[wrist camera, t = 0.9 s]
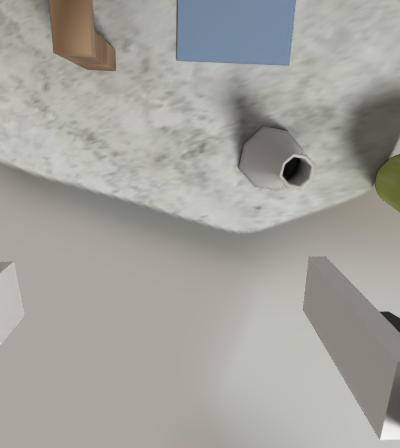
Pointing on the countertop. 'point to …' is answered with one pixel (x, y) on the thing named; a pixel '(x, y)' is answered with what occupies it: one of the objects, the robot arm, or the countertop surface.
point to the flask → (275, 160)
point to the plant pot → (389, 182)
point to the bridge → (79, 35)
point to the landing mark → (235, 31)
